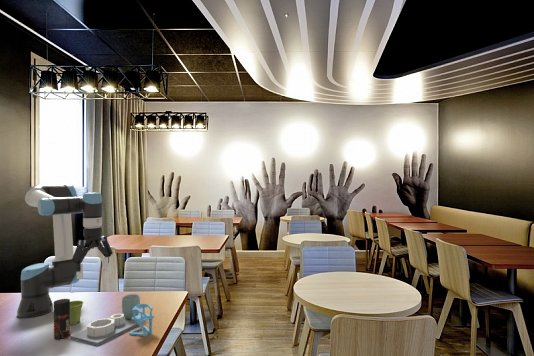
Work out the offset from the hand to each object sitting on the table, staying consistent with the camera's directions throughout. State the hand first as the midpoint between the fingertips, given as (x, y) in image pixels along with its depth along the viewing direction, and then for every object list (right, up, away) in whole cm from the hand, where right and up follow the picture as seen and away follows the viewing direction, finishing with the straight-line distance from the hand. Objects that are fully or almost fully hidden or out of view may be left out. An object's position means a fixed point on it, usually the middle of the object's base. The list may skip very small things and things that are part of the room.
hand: (93, 274), depth 158 cm
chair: (+25, -23, -7) cm, 35 cm away
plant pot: (-12, -24, +6) cm, 27 cm away
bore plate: (+8, -23, -5) cm, 25 cm away
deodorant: (-8, -24, -10) cm, 27 cm away
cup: (+13, -24, +10) cm, 29 cm away
